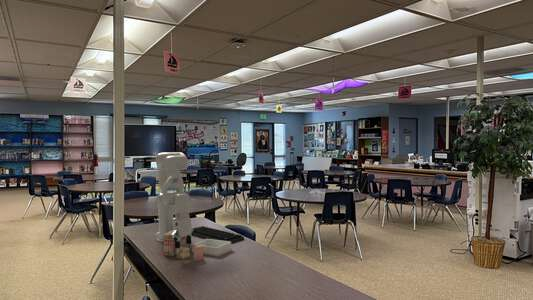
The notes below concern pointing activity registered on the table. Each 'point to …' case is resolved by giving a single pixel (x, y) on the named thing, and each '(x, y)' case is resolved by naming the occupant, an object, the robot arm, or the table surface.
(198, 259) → the smooth tan pebble
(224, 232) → the computer keyboard
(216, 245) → the tote
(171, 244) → the stack of blocks
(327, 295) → the table surface
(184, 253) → the cube
